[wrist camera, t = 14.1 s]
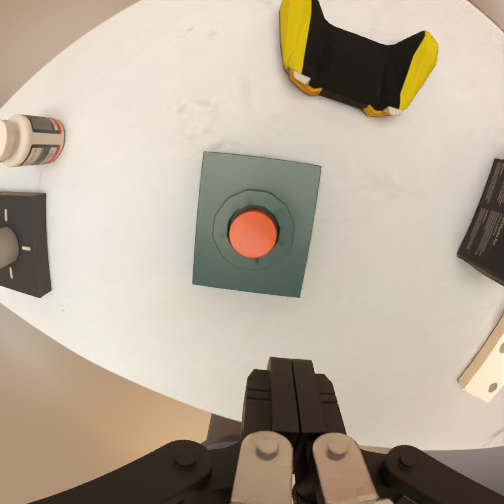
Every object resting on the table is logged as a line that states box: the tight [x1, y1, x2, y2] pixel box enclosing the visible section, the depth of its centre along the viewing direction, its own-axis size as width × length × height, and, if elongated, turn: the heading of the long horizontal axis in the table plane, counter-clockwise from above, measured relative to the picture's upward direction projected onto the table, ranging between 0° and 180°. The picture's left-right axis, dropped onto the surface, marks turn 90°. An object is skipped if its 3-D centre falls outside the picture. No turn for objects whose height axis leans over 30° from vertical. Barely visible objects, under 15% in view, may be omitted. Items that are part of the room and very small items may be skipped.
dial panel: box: [0, 192, 51, 298], centre depth 28 cm, size 12×10×3 cm
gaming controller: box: [279, 0, 438, 116], centre depth 21 cm, size 15×6×10 cm
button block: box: [192, 151, 321, 298], centre depth 26 cm, size 12×10×4 cm
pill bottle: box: [0, 115, 64, 167], centre depth 22 cm, size 5×5×9 cm
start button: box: [229, 209, 277, 258], centre depth 24 cm, size 4×4×2 cm
